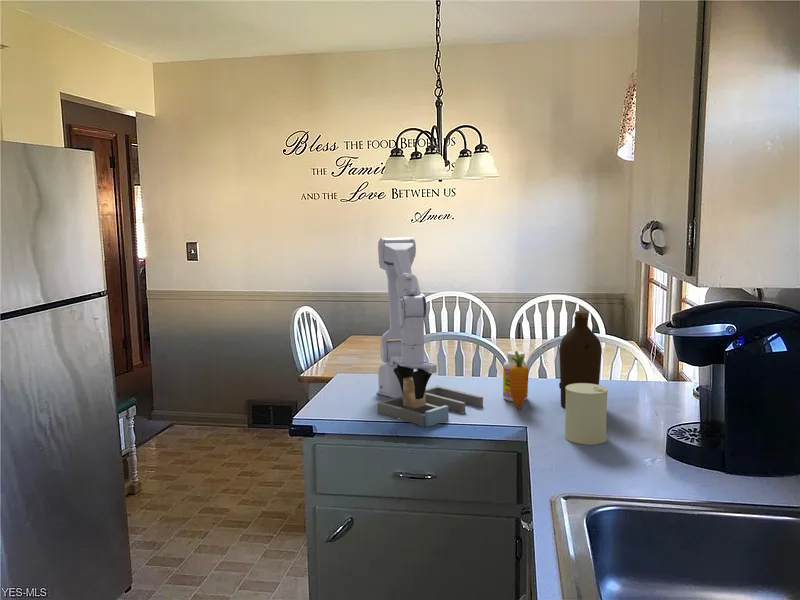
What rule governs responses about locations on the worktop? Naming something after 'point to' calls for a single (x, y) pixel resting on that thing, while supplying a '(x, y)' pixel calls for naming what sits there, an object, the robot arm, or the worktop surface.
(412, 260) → the robot arm
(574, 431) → the can
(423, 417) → the gray divided frame
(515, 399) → the carrot
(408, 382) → the tan rectangular block
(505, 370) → the supplement bottle
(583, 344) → the olive oil
